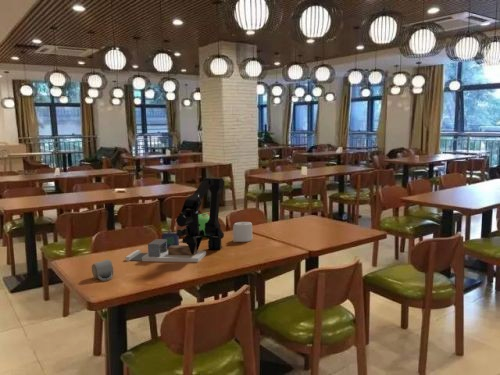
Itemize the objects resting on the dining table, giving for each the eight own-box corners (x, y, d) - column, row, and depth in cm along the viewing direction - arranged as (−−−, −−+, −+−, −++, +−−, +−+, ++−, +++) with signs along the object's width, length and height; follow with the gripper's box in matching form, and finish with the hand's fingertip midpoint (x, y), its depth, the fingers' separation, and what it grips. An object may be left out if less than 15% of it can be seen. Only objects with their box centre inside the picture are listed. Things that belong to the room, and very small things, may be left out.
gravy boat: (219, 237, 273) (218, 213, 271) (192, 239, 270) (191, 215, 268) (217, 231, 290) (216, 209, 289) (191, 233, 288) (190, 210, 286)
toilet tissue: (254, 237, 268) (253, 221, 267) (250, 242, 257) (249, 225, 256) (237, 237, 271) (236, 221, 269) (232, 242, 259) (231, 225, 258)
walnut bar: (197, 253, 231) (196, 245, 230) (194, 255, 226) (193, 247, 226) (171, 252, 233) (171, 245, 233) (168, 255, 229) (167, 247, 229)
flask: (179, 247, 252) (178, 228, 251) (178, 248, 249) (177, 230, 248) (163, 247, 253) (162, 229, 251) (162, 249, 250) (161, 230, 248)
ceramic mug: (91, 277, 204) (90, 260, 203) (109, 273, 208) (108, 257, 207) (98, 283, 195) (97, 266, 194) (116, 279, 200) (115, 262, 199)
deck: (206, 254, 235) (205, 250, 235) (198, 262, 221) (198, 258, 221) (137, 253, 242) (137, 249, 242) (125, 260, 228) (125, 257, 228)
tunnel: (167, 251, 237) (166, 239, 236) (159, 256, 226) (158, 244, 226) (156, 250, 238) (155, 239, 237) (148, 256, 227) (147, 244, 227)
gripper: (183, 219, 237) (185, 247, 239) (171, 226, 219) (173, 257, 221) (204, 219, 235) (205, 247, 237) (193, 226, 217) (195, 257, 219)
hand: (194, 252), depth 229 cm, fingers open, 6 cm apart
